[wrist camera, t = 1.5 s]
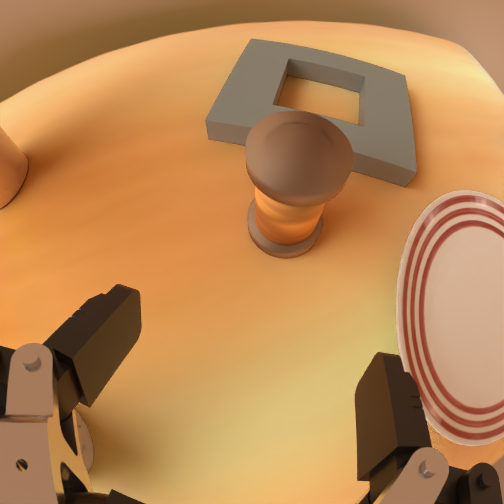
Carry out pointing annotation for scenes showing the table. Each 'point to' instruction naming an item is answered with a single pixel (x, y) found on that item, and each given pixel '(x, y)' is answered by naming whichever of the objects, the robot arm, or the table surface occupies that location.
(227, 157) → the table surface
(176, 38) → the table surface
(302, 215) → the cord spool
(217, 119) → the grey rectangular frame
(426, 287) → the dinner plate
